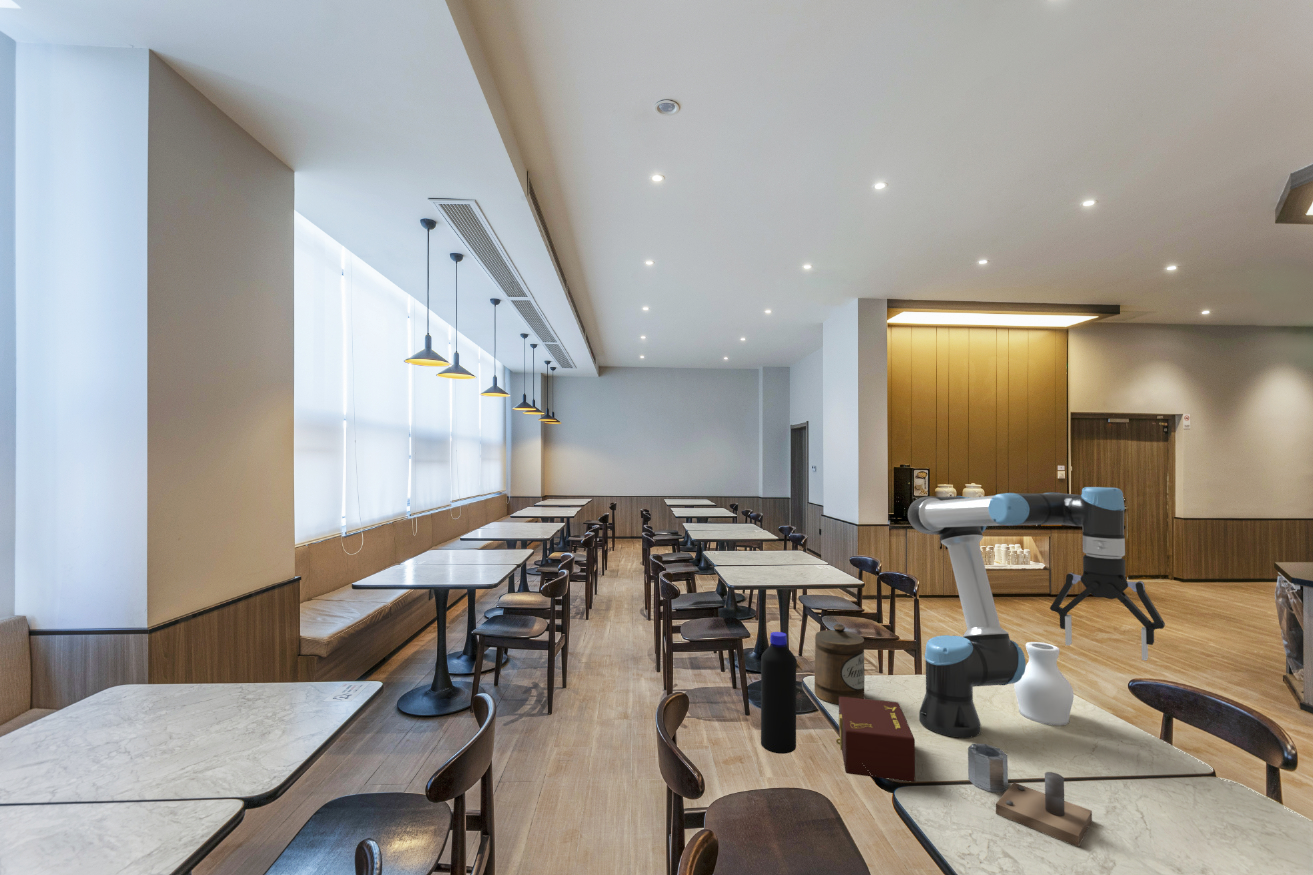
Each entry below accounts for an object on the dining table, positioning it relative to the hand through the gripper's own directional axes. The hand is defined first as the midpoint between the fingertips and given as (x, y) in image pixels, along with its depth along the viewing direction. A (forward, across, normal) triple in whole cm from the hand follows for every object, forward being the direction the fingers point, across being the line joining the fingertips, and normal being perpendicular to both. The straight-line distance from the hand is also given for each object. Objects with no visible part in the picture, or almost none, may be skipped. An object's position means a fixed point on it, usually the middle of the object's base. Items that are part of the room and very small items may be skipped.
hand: (1105, 651), depth 129 cm
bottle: (+31, -62, -36) cm, 78 cm away
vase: (+31, -20, +35) cm, 50 cm away
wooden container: (+31, -67, +5) cm, 74 cm away
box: (+31, -43, -24) cm, 58 cm away
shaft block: (+30, -8, -22) cm, 38 cm away
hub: (+31, -19, -16) cm, 40 cm away
